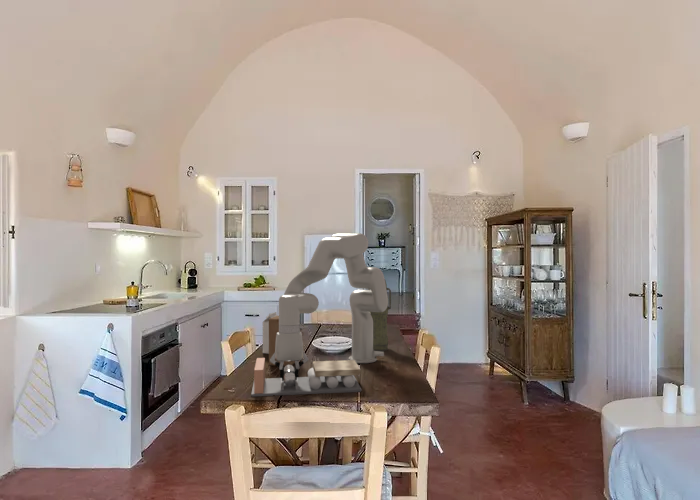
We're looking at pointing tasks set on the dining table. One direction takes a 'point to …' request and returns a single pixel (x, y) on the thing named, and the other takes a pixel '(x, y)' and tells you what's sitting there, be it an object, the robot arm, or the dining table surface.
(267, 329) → the milk carton
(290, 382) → the roller
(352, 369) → the slab
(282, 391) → the roller bed
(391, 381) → the dining table surface
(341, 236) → the robot arm
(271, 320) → the wooden block
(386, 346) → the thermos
